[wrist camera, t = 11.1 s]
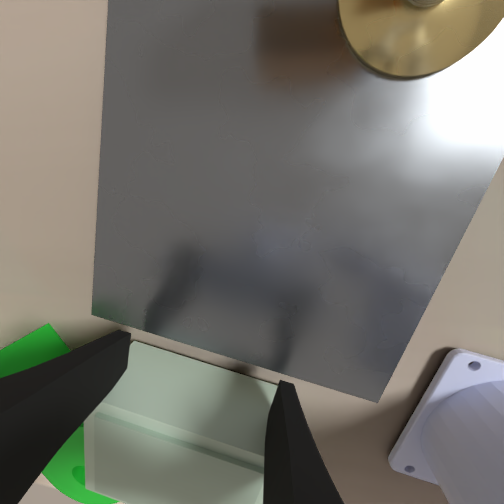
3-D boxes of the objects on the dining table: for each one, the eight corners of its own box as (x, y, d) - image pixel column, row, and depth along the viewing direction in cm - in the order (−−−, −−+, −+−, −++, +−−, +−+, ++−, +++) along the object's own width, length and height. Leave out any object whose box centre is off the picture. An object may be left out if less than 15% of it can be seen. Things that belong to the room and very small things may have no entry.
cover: (288, 389, 13) (288, 470, 9) (258, 467, 15) (248, 555, 12) (134, 340, 13) (78, 399, 10) (128, 422, 16) (82, 493, 12)
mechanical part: (-5, 355, 16) (-269, 506, 8) (51, 321, 15) (-208, 465, 7) (100, 478, 18) (-39, 695, 10) (160, 459, 16) (49, 695, 9)
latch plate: (662, -225, 6) (762, -335, 5) (369, 383, 12) (379, 406, 11) (152, -284, 7) (123, -387, 6) (108, 304, 13) (88, 316, 12)
